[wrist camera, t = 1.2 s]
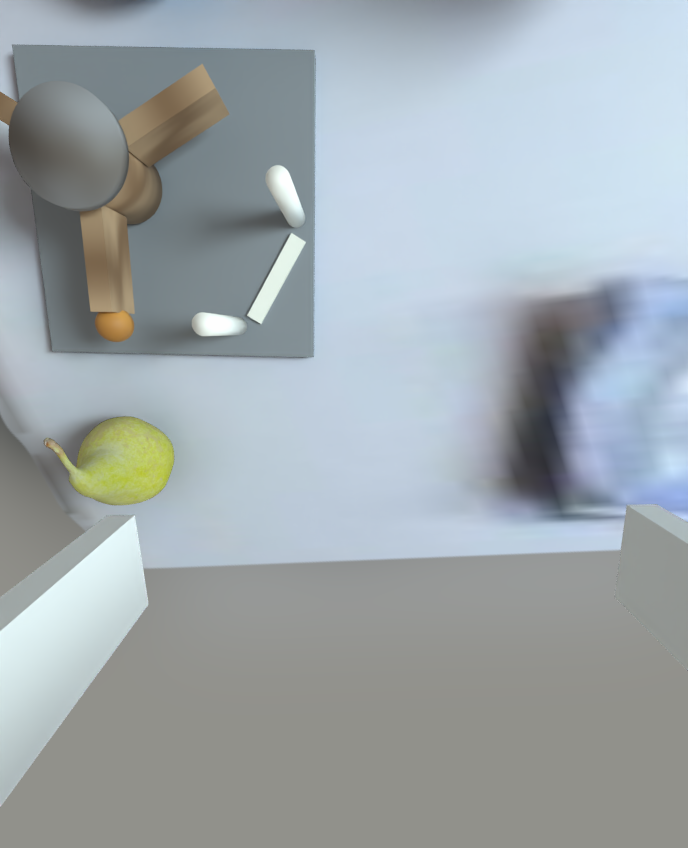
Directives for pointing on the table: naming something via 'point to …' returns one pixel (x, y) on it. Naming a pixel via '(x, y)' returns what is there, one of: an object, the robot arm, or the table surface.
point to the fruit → (120, 461)
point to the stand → (198, 206)
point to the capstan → (105, 170)
